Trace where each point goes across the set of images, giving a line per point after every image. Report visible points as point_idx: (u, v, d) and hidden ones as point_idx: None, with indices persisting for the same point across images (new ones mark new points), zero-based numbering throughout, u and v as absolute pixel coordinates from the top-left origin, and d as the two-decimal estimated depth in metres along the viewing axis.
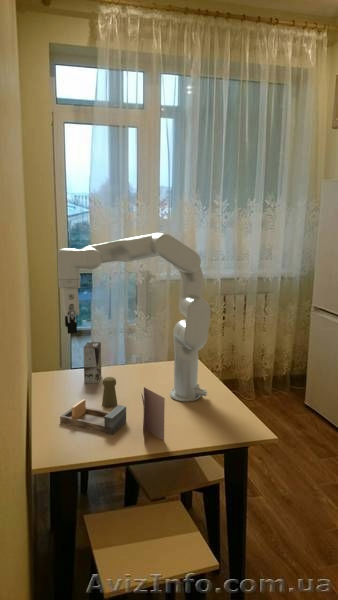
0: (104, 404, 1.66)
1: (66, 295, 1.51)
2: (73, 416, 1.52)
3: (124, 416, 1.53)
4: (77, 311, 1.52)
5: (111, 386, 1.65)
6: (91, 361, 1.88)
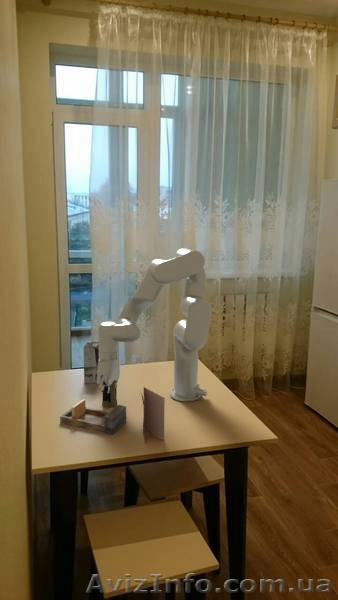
0: (104, 404, 1.66)
1: None
2: (73, 416, 1.52)
3: (124, 416, 1.53)
4: None
5: (111, 386, 1.65)
6: (91, 361, 1.88)
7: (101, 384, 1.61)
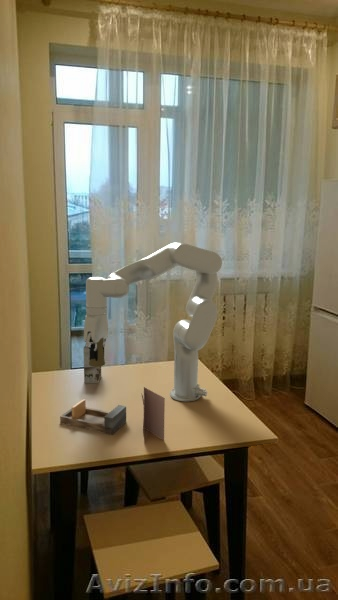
0: (91, 362, 1.60)
1: None
2: (73, 416, 1.52)
3: (124, 416, 1.53)
4: None
5: (98, 344, 1.59)
6: None
7: (88, 340, 1.55)
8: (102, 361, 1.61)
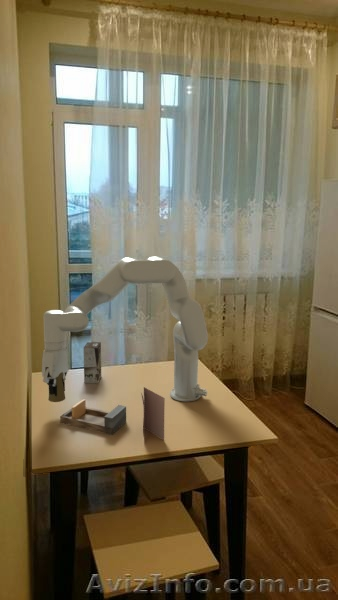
0: (50, 398, 1.56)
1: None
2: (73, 416, 1.52)
3: (124, 416, 1.53)
4: None
5: (57, 378, 1.54)
6: (91, 361, 1.88)
7: (45, 376, 1.51)
8: (62, 396, 1.56)
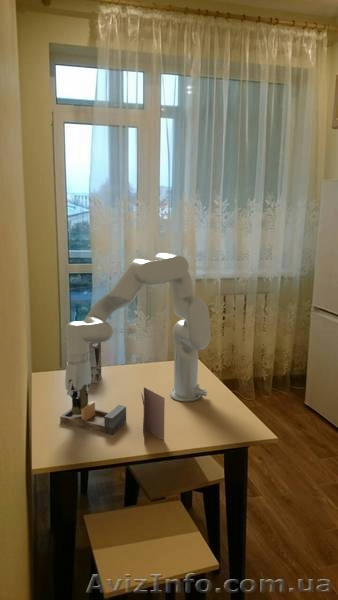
0: (74, 410, 1.53)
1: None
2: (83, 418, 1.51)
3: (124, 416, 1.53)
4: None
5: (81, 391, 1.52)
6: (91, 361, 1.88)
7: (69, 389, 1.48)
8: None
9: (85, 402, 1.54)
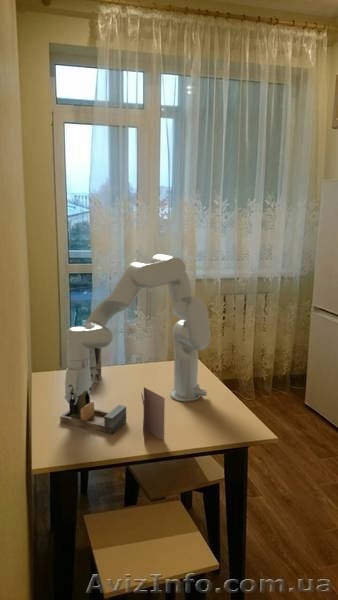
0: (73, 416, 1.54)
1: None
2: (82, 418, 1.51)
3: (124, 416, 1.53)
4: None
5: (80, 397, 1.52)
6: (91, 361, 1.88)
7: (69, 392, 1.48)
8: None
9: None
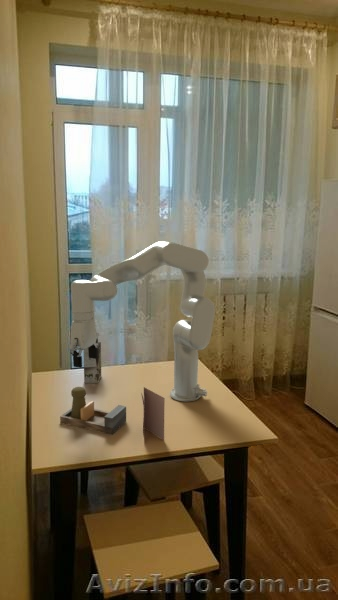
0: (73, 416, 1.54)
1: None
2: (82, 418, 1.51)
3: (124, 416, 1.53)
4: None
5: (80, 397, 1.52)
6: (91, 361, 1.88)
7: (74, 341, 1.47)
8: None
9: None
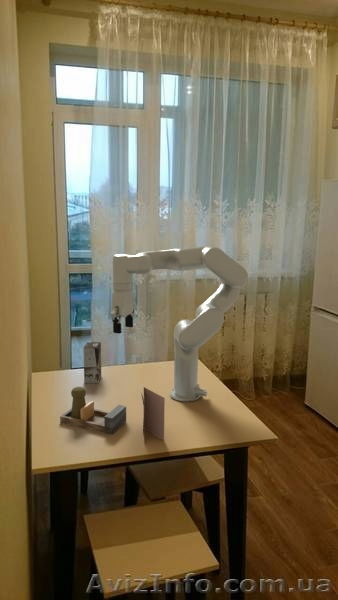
0: (73, 416, 1.54)
1: None
2: (82, 418, 1.51)
3: (124, 416, 1.53)
4: None
5: (80, 397, 1.52)
6: (91, 361, 1.88)
7: (115, 309, 1.62)
8: None
9: None
